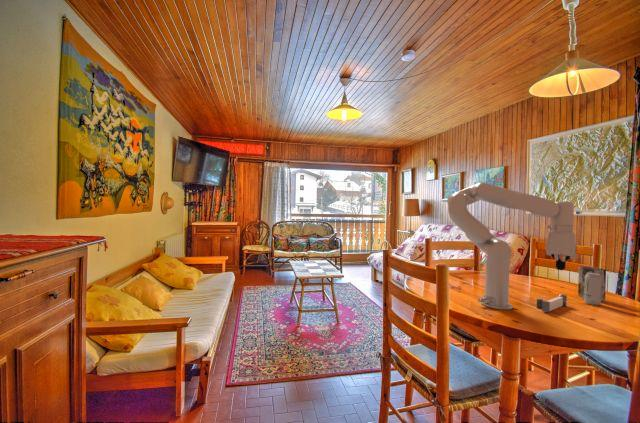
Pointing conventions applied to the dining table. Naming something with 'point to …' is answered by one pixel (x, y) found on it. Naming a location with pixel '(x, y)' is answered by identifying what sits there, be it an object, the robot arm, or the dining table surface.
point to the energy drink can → (592, 288)
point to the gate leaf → (552, 304)
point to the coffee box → (581, 280)
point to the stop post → (539, 303)
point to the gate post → (563, 299)
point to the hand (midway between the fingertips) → (560, 269)
